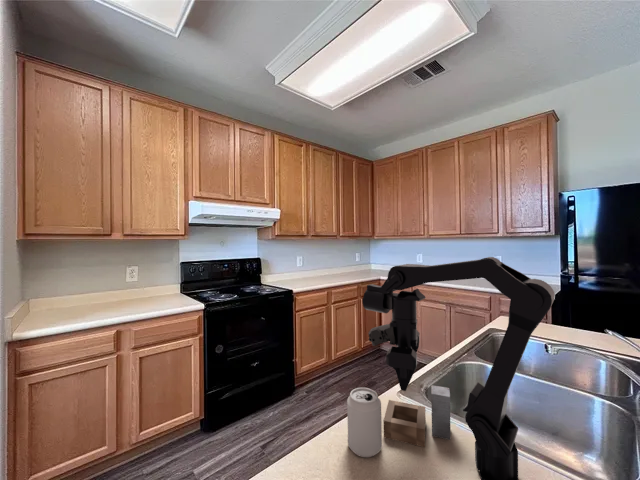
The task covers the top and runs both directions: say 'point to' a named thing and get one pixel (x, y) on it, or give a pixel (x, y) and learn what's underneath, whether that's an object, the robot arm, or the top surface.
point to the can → (364, 422)
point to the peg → (440, 412)
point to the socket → (405, 423)
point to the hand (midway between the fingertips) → (405, 380)
